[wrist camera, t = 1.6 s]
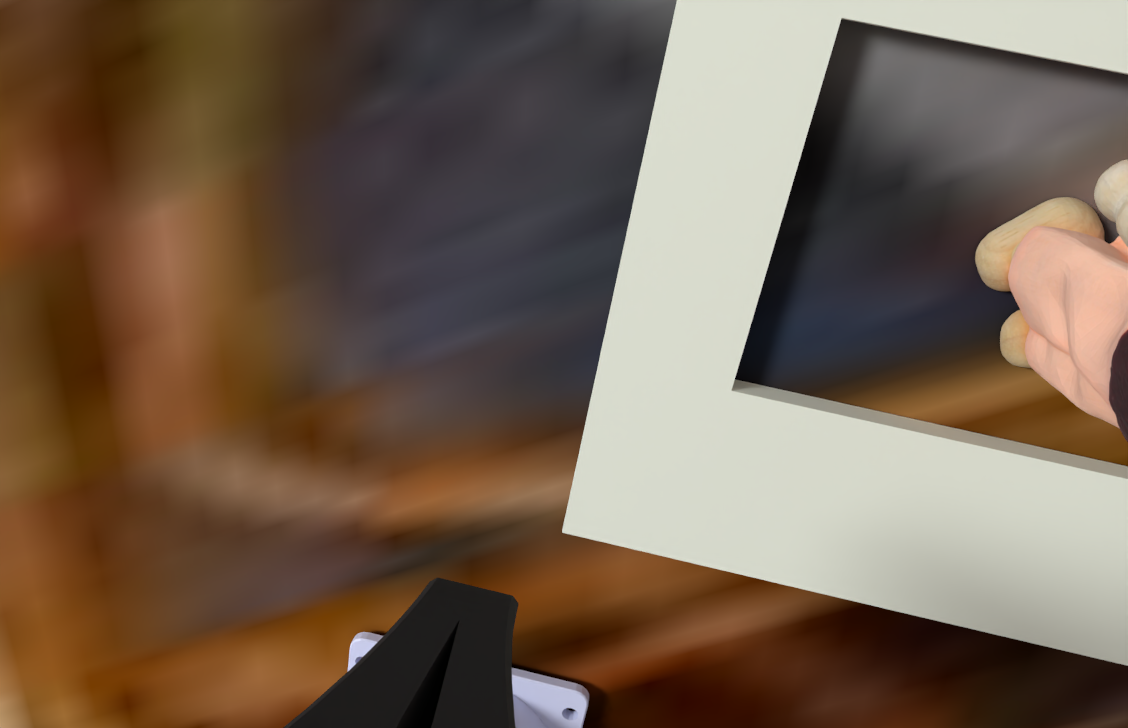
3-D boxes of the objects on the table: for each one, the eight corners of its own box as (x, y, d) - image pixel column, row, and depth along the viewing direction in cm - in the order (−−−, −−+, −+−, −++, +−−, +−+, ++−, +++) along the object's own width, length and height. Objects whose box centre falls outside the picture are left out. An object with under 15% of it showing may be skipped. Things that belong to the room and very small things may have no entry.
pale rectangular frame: (1253, 678, 23) (1272, 699, 22) (566, 517, 24) (561, 532, 23) (1742, -11, 16) (1793, -12, 15) (719, -196, 17) (721, -206, 16)
